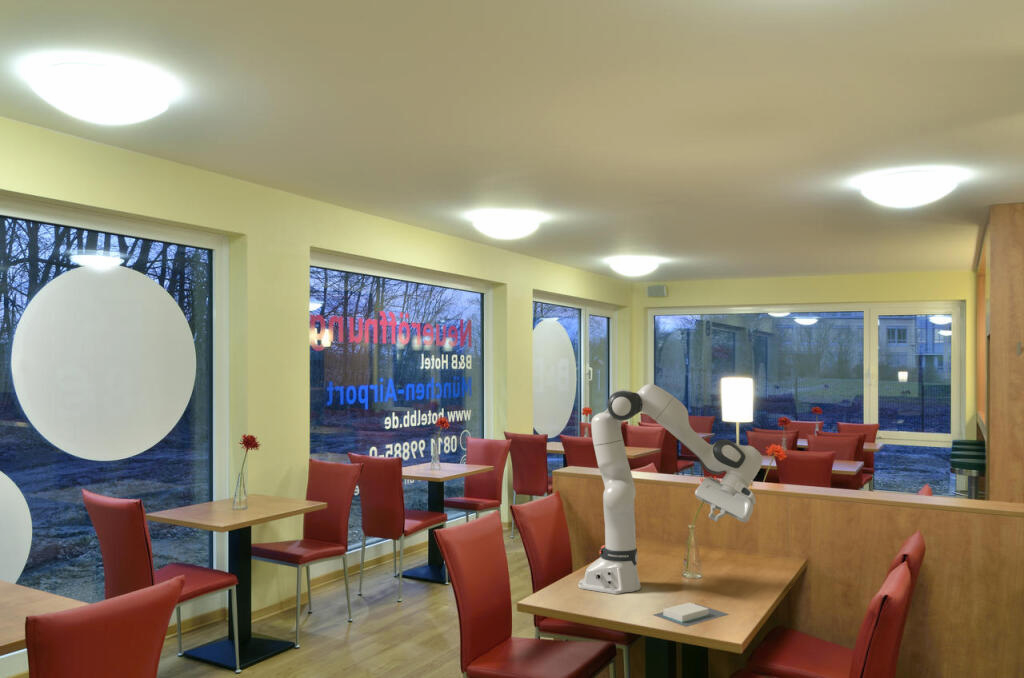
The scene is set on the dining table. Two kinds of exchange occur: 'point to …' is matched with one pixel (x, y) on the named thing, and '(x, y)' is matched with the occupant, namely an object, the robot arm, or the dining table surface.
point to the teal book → (685, 612)
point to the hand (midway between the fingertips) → (712, 519)
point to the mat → (712, 615)
